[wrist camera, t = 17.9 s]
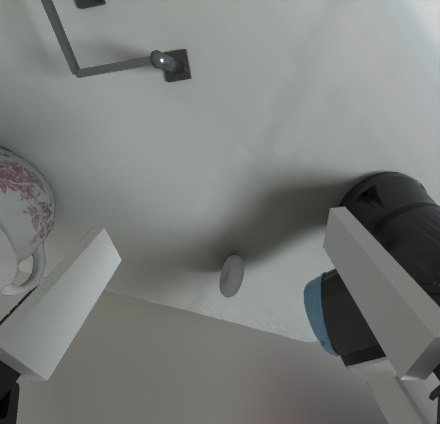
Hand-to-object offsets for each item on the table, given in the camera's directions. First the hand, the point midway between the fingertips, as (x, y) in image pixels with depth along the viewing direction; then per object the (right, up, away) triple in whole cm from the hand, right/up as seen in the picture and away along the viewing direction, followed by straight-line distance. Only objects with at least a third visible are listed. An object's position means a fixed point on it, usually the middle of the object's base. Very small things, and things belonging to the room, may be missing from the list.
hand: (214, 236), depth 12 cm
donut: (+3, -11, +41) cm, 42 cm away
